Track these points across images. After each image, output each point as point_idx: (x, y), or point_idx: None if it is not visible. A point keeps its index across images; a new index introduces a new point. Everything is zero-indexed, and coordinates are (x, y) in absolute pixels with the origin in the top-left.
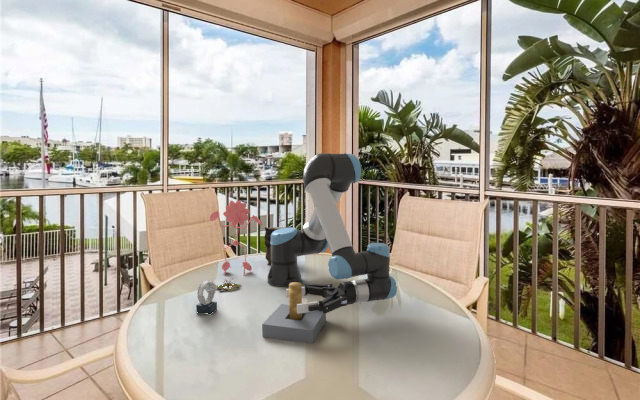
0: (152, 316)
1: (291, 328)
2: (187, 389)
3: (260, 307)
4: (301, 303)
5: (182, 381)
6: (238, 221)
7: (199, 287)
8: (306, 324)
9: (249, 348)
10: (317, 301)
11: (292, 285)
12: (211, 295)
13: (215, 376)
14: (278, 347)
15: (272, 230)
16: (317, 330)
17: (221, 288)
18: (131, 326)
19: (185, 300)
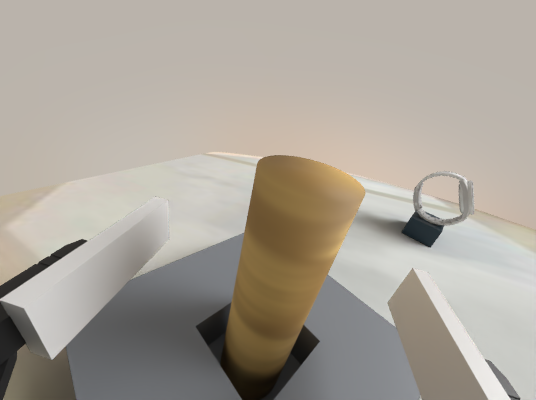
0: (396, 193)
1: (175, 263)
2: (190, 160)
3: (474, 340)
4: (149, 212)
5: (209, 163)
6: None
7: (433, 173)
8: (136, 324)
9: (225, 218)
10: (17, 304)
11: (291, 160)
12: (456, 219)
13: (188, 174)
14: (177, 252)
15: None
16: None
17: None
18: (366, 179)
19: (472, 230)
